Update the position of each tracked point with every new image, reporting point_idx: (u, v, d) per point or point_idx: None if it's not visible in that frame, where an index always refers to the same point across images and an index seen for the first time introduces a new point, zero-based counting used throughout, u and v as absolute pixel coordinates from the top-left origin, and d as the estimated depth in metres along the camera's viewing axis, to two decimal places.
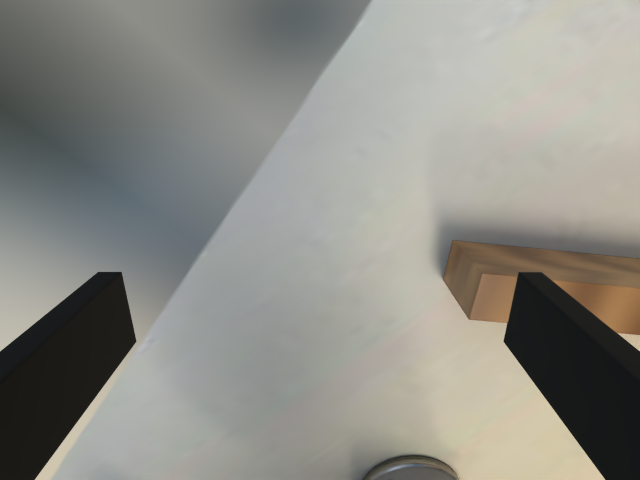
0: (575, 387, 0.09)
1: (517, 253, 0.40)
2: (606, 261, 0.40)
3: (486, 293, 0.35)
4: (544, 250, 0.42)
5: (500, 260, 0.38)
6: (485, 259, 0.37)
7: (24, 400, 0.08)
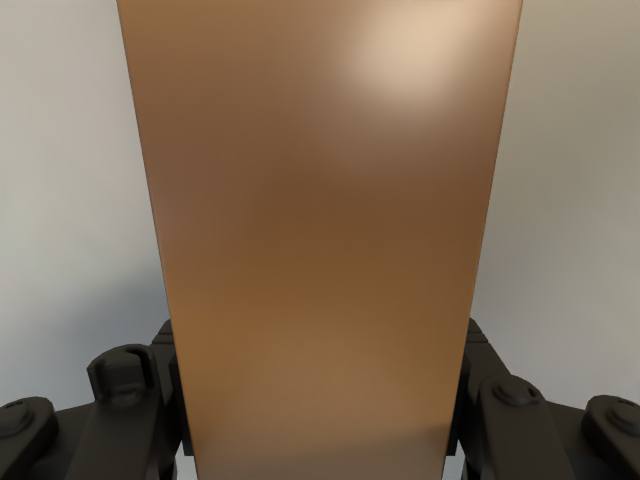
0: None
1: None
2: None
3: None
4: None
5: None
6: None
7: None
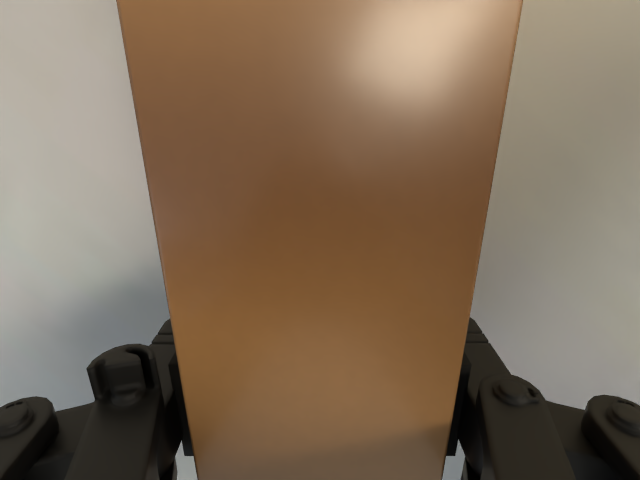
0: None
1: None
2: None
3: None
4: None
5: None
6: None
7: None
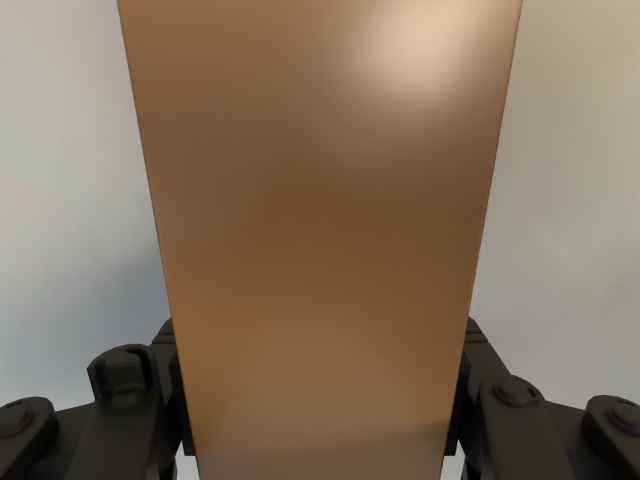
0: None
1: None
2: None
3: None
4: None
5: None
6: None
7: None
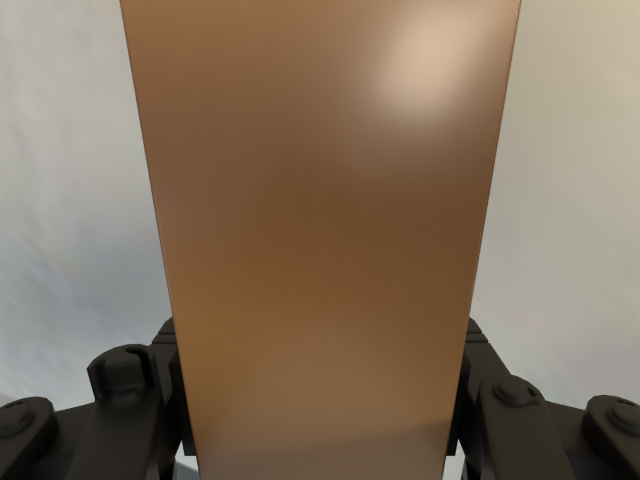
0: None
1: None
2: None
3: None
4: None
5: None
6: None
7: None
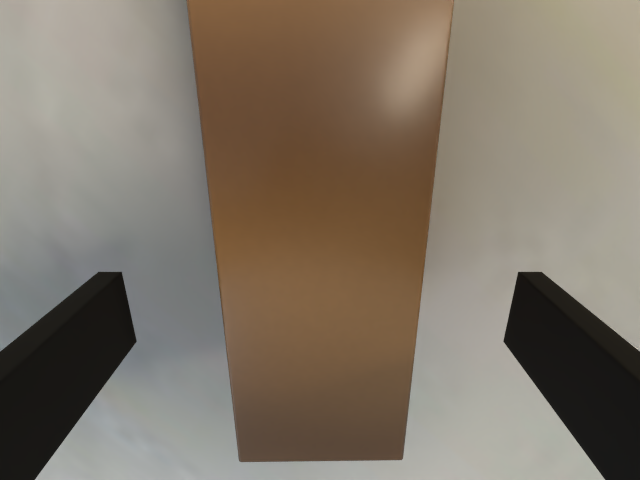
0: (575, 387, 0.10)
1: None
2: None
3: (305, 439, 0.11)
4: None
5: None
6: None
7: (25, 399, 0.08)
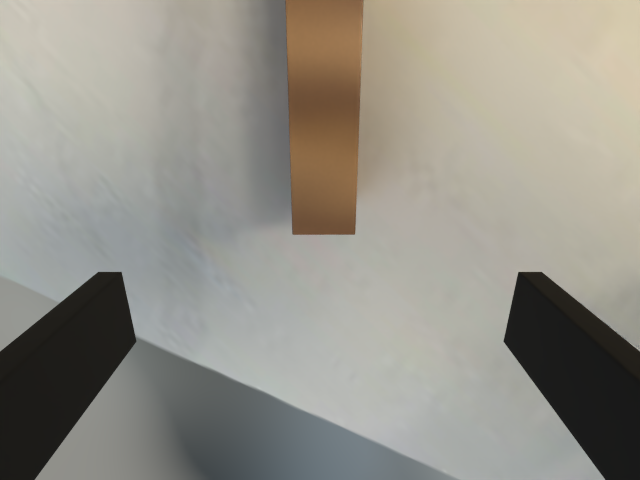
0: (575, 387, 0.10)
1: None
2: None
3: (317, 223, 0.30)
4: None
5: None
6: None
7: (24, 400, 0.08)
